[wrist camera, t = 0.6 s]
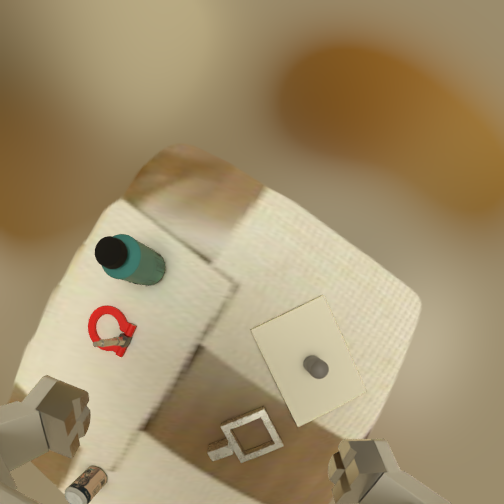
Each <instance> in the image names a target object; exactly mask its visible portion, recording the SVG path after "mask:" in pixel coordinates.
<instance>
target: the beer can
mask: <svg viewBox="0 0 504 504" xmlns="http://www.w3.org/2000/svg"><path fill="white" fill-rule="evenodd" d="M106 482H107V476H106V474H105V473H104V472H103V471H102V470H101V469H100V468H98V467H95V466H91V467H89V468H88V469H87V470H86V471H85V472H84V473H83V474H82V475H80V476H79V477H78V478H77V479H76V480H75V481H74V482H73V483H72V484H71V485H70V486H69V487H68V488H66V490H65V498H66V500H67V501H68V503H70V504H88V503H89V502H90V501H91V500H92V498H93V497H94V496H95V495H96V494H97V493H98V491H99V490H100V489H101V488H102V487H103V486H104V484H105V483H106Z"/></svg>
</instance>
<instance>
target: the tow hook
mask: <svg viewBox="0 0 504 504" xmlns="http://www.w3.org/2000/svg"><path fill="white" fill-rule="evenodd" d="M104 314H110V315H112V316H114V317H115V318H116V319H117V321H118V323H119V326H120V330H121V331H123V332H124V333H122V334H120V336H119V337H114V338H111V339H102V340H101V339H100V338H99V336H98V334H97V331H96V323H97V321H98V319H99V318H100V317H101V316H102V315H104ZM135 328H136V325H134V324H132V323H128V322H127V320H126V318H125V316H124V315H123V313H122V312H121V311H120V310H118V309H117V308H115V307H112V306H102V307H99V308H97V309H96V310H95V311H94V312H93V313H92V315H91V316H90V319H89V323H88V332H89V335H90V338H91V340H92V341H93V346H94V347H99V348H100V349H102V350H105V351H114V352H115V353H116V355H118V356H119V357H122V356H123V354H124V352H125V350H126V348H127V347H128V345H129V343H130V340H131V338H132V335H133V333H134V331H135Z"/></svg>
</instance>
